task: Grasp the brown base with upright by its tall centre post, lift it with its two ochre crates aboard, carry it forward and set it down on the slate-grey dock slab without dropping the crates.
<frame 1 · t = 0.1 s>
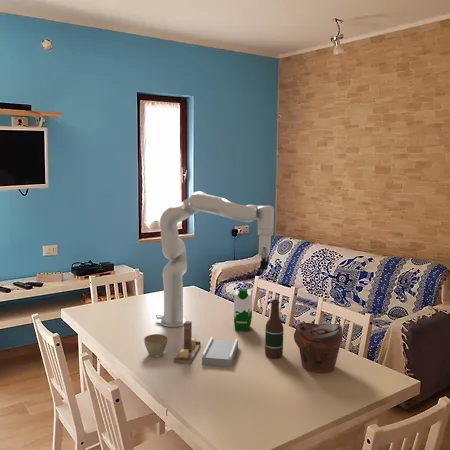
hand: (264, 267, 232), 31 cm above the table, fingers open, 9 cm apart
beer bottle: (273, 355, 206), on the table
brown lidded bucket: (317, 366, 195), on the table
dock: (220, 355, 204), on the table
crate b: (191, 345, 212), point 1 cm above the table, touching brown base with upright
flower pot: (156, 354, 205), on the table
milk carton: (242, 328, 238), on the table
crate a: (184, 357, 199), point 1 cm above the table, touching brown base with upright
brown base with upright: (187, 354, 205), on the table, touching crate a, crate b
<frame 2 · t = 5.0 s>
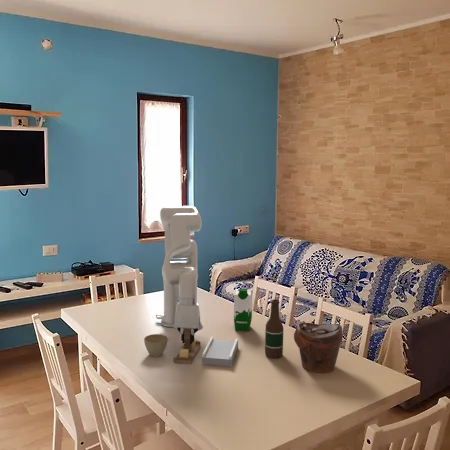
hand: (187, 342, 205), 5 cm above the table, fingers closed on brown base with upright, 2 cm apart
brown base with upright: (187, 354, 205), on the table, touching crate a, crate b, gripper
everything else where it was.
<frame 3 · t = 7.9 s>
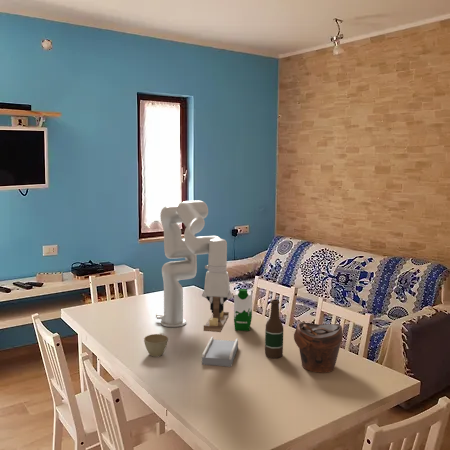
hand: (216, 311, 202), 19 cm above the table, fingers closed on brown base with upright, 2 cm apart
crate b: (219, 315, 209), point 15 cm above the table, touching brown base with upright
crate a: (213, 326, 196), point 15 cm above the table, touching brown base with upright
brown base with upright: (216, 323, 203), point 14 cm above the table, touching crate a, crate b, gripper
everything else where it was.
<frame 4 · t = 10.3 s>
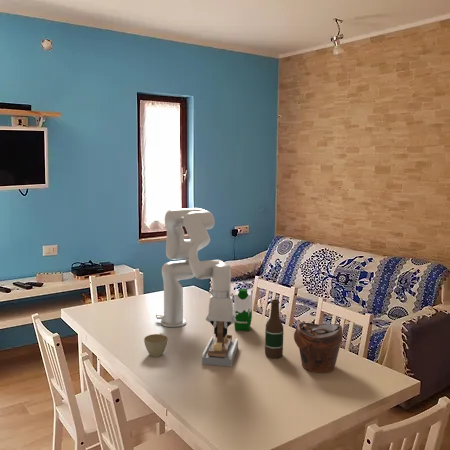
hand: (220, 335, 203), 9 cm above the table, fingers closed on brown base with upright, 2 cm apart
crate b: (222, 339, 210), point 5 cm above the table, touching brown base with upright
crate a: (217, 350, 197), point 5 cm above the table, touching brown base with upright
brown base with upright: (220, 347, 204), point 4 cm above the table, touching crate a, crate b, gripper
everything else where it was.
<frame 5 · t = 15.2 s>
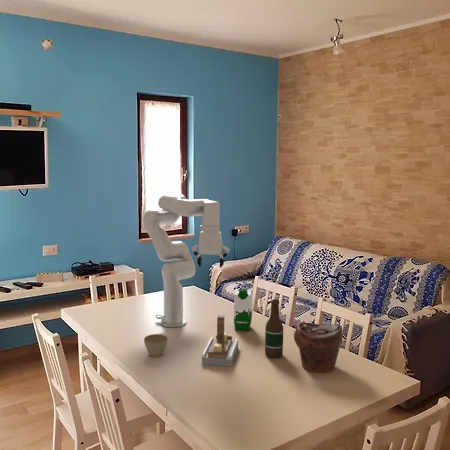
hand: (210, 266, 217), 34 cm above the table, fingers open, 9 cm apart
brown base with upright: (220, 348, 204), point 3 cm above the table, touching crate a, crate b, dock
at the end: brown base with upright inside the target area on the dock (0.3 cm from its centre), point 3.0 cm above the dock's base; crate a inside the target area on the brown base with upright (6.5 cm from its centre), point 1.2 cm above the brown base with upright's base; crate b inside the target area on the brown base with upright (6.5 cm from its centre), point 1.2 cm above the brown base with upright's base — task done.
